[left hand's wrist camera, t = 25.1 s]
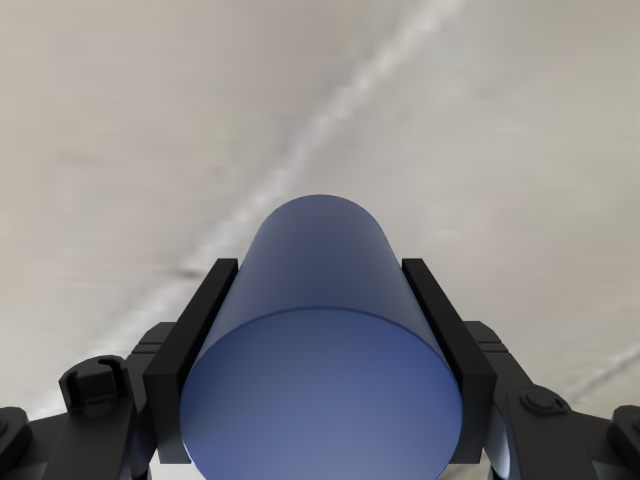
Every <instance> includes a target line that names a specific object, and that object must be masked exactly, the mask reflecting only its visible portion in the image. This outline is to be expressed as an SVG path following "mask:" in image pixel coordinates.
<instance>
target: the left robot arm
mask: <svg viewBox="0 0 640 480" xmlns="http://www.w3.org/2000/svg"><path fill="white" fill-rule="evenodd" d="M401 269H402V271H403V273H404V275H405V277H406V279H407V281H408V283H409V285H410V287H411V289H412V291H413V293H414V296H415V298H416V300H417V302H418V304H419V306H420V308H421V310H422V312H423V314H424V316H425V318H426V320H427V322H428V324H429V326H430V328H431V330H432V332H433V334H434V336H435V338H436V340H437V342H438V344H439V346H440V348H441V350H442V352H443V354H444V357H445V359H446V361H447V363H448V365H449V367H450V369H451V371H452V373H453V375H454V377H455V379H456V381H457V384H458V387H459V390H460V394H461V397H462V406H463V423H462V431H461V435H460V439H459V443H458V445H457V448H456V450H455V452H454V455H453V457H452V458H451V460H450V461H449V464H479V463H480V458H481V454H482V449H483V447H484V449H485V451H486V453H487V456H488V458H489V460H490V462H491V466H490V470H489V475H488V479H487V480H640V407H639V406H633V405H626V406H620V407H618V408H617V409H616V410H614V413H613V416H612V419H611V420H608V419H604V418H600V417H595V416H591V415H587V414H582V413H579V412H575V411H572V409H571V408H570V406H569V405H568V403H567V402H566V401H565V400H564V399H562V398H561V397H560V396H559V395H558V394H556V393H554V392H553V391H551V390H549V389H547V388H545V387H542V386H539V385H535V384H534V383H533V382H532V381H531V380H530V378H529V377H528V376H527V374H526V373H525V372H524V370H523V369H522V368H521V366H520V365H519V364H518V362H517V361H516V360H515V359H514V357H513V356H512V355H511V353H509V352H508V349H507V348H506V347H505V345H504V344H502V341H501V340H500V339H499V337H498V336H497V335H496V334H495V332H494V331H493V330H492V329H490V328H489V327H487V326H486V325H484V324H483V323H482V322H480V321H462V319H461V318H460V316H459V315H458V313H457V312H456V310H455V309H454V307H453V306H452V304H451V303H450V301H449V300H448V298H447V296H446V295H445V293H444V292H443V290H442V289H441V287H440V286H439V284H438V283H437V281H436V280H435V278H434V277H433V275H432V274H431V272H430V270H429V269H428V267H427V266H426V264H425V263H424V261H423V260H422V258H402V268H401ZM238 271H239V270H238V259H237V258H218V259H217V261H216V262H215V264H214V265H213V267H212V269H211V270H210V272H209V273H208V275H207V276H206V278H205V279H204V281H203V282H202V284H201V285H200V287H199V288H198V290H197V291H196V293H195V295H194V296H193V298H192V299H191V301H190V302H189V304H188V305H187V307H186V308H185V310H184V311H183V313H182V314H181V316H180V318H179V319H178V321H177V322H160V323H159V324H157V325H156V326H154V327H153V328H151V329H150V330H148V331H147V332H146V333H145V335H144V336H143V337H142V339H141V340H140V341H139V343H138V345H136V347H135V348H134V349H133V351H132V353H131V354H130V355H129V356H128V357H127V359H126V360H124V359H123V358H122V357H119V356H114V355H105V356H98V357H94V358H91V359H87V360H85V361H83V362H81V363H79V364H77V365H75V366H73V367H72V368H71V369H69V370H68V371H67V372H65V373H64V374H63V376H62V377H61V378H60V380H59V381H58V382H59V385H60V388H61V391H62V395H63V398H64V401H65V404H66V408H67V411H68V412H67V413H63V414H60V415H56V416H51V417H47V418H43V419H39V420H34V421H30V422H29V419H28V417H27V414H26V412H25V411H24V410H22V409H21V408H19V407H5V408H0V480H152V476H151V470H150V466H149V463H150V461H151V459H152V457H153V455H154V453H155V450H156V448H157V450H158V455H159V460H160V464H191V462H192V461H191V459H190V457H189V455H188V453H187V451H186V448H185V446H184V443H183V440H182V436H181V433H180V425H179V403H180V398H181V394H182V389H183V386H184V384H185V381H186V379H187V377H188V375H189V372H190V370H191V368H192V366H193V364H194V362H195V360H196V358H197V356H198V354H199V352H200V350H201V348H202V345H203V343H204V341H205V339H206V337H207V335H208V333H209V331H210V329H211V327H212V325H213V323H214V321H215V319H216V317H217V314H218V312H219V310H220V308H221V306H222V304H223V302H224V300H225V298H226V296H227V294H228V292H229V290H230V288H231V286H232V283H233V281H234V279H235V277H236V275H237V273H238Z"/></svg>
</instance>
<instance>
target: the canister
mask: <svg viewBox="0 0 640 480" xmlns="http://www.w3.org/2000/svg"><path fill="white" fill-rule="evenodd" d="M462 423H463V406H462V397H461V394H460V390H459V387H458V384H457V381H456V379H455V377H454V375H453V373H452V371H451V369H450V367H449V365H448V363H447V361H446V359H445V357H444V354H443V352H442V350H441V348H440V346H439V344H438V342H437V340H436V338H435V336H434V334H433V332H432V330H431V328H430V326H429V324H428V322H427V320H426V318H425V316H424V314H423V312H422V310H421V308H420V306H419V304H418V302H417V300H416V298H415V296H414V293H413V291H412V289H411V287H410V285H409V283H408V281H407V279H406V277H405V275H404V273H403V271H402V269H401V267H400V265H399V263H398V261H397V259H396V257H395V255H394V253H393V251H392V249H391V247H390V245H389V243H388V241H387V239H386V237H385V235H384V232H383V230H382V229H381V227H380V225H379V224H378V222H377V221H376V220H375V219H374V218H373V217H372V215H371V214H369V213H368V212H367V211H366V210H365V209H364V208H362V207H360V206H359V205H357V204H356V203H354V202H351V201H349V200H347V199H344V198H341V197H337V196H331V195H309V196H304V197H300V198H297V199H294V200H291V201H289V202H287V203H285V204H283V205H282V206H280V207H279V208H277V209H276V210H275V211H274V212H272V213H271V214H270V215H269V216H268V217H267V219H266V220H265V221H264V222H263V223H262V225H261V227H260V228H259V230H258V232H257V234H256V236H255V238H254V240H253V242H252V244H251V246H250V248H249V250H248V253H247V255H246V257H245V259H244V261H243V263H242V265H241V267H240V269H239V271H238V273H237V275H236V277H235V279H234V281H233V283H232V286H231V288H230V290H229V292H228V294H227V296H226V298H225V300H224V302H223V304H222V306H221V308H220V310H219V312H218V314H217V317H216V319H215V321H214V323H213V325H212V327H211V329H210V331H209V333H208V335H207V337H206V339H205V341H204V343H203V345H202V348H201V350H200V352H199V354H198V356H197V358H196V360H195V362H194V364H193V366H192V368H191V370H190V372H189V375H188V377H187V379H186V381H185V384H184V386H183V389H182V394H181V398H180V403H179V425H180V433H181V436H182V440H183V443H184V446H185V448H186V451H187V453H188V455H189V457H190V459H191V461H192V462H193V464H194V465H195V467H196V468H197V470H198V471H199V472H200V473H201V474H202V476H203V477H204V478H205V479H206V480H436V479H437V478H438V476H439V475H440V474H441V473H442V472H443V470H444V469H445V468H446V466H447V465H448V463H449V461H450V460H451V458H452V457H453V455H454V452H455V450H456V448H457V445H458V443H459V439H460V435H461V431H462Z"/></svg>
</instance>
